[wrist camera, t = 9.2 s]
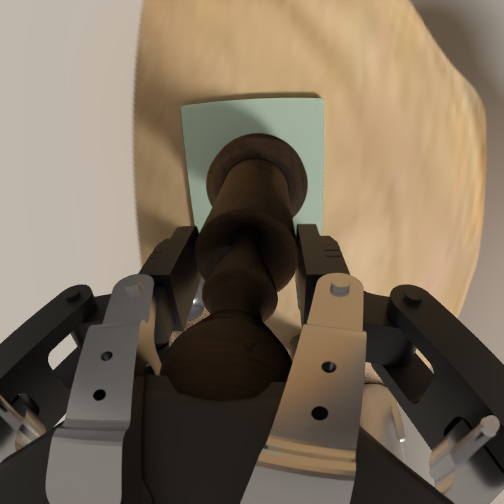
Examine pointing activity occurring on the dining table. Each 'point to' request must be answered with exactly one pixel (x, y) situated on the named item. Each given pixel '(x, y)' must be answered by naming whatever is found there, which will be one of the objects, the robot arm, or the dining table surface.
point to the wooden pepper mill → (242, 272)
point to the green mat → (247, 122)
